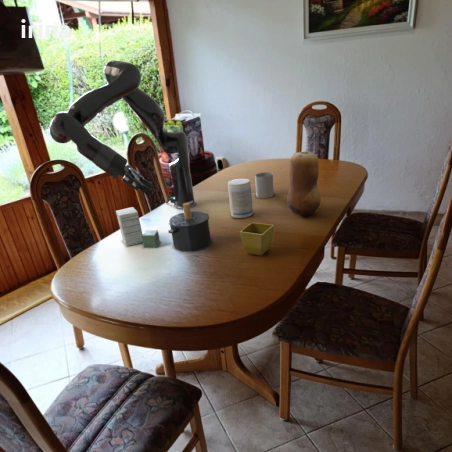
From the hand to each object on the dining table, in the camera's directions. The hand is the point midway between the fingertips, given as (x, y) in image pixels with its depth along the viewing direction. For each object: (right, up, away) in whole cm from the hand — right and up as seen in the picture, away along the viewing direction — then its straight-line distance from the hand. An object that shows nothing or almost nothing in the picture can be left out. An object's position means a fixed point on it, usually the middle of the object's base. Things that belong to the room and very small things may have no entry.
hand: (150, 190), depth 140 cm
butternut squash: (+59, -3, +28) cm, 65 cm away
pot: (+14, -17, +13) cm, 25 cm away
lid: (+13, -9, +8) cm, 17 cm away
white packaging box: (-11, -15, +21) cm, 28 cm away
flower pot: (+38, -22, 0) cm, 44 cm away
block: (-2, -17, +15) cm, 23 cm away
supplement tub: (+33, -2, +34) cm, 48 cm away
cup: (+45, +12, +55) cm, 72 cm away
